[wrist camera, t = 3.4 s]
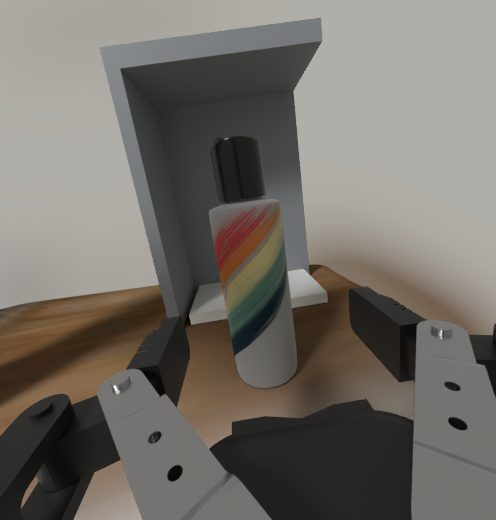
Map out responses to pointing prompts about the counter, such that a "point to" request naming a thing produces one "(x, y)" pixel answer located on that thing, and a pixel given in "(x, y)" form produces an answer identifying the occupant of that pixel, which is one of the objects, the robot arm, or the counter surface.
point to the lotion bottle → (252, 265)
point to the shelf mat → (213, 305)
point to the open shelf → (208, 137)
